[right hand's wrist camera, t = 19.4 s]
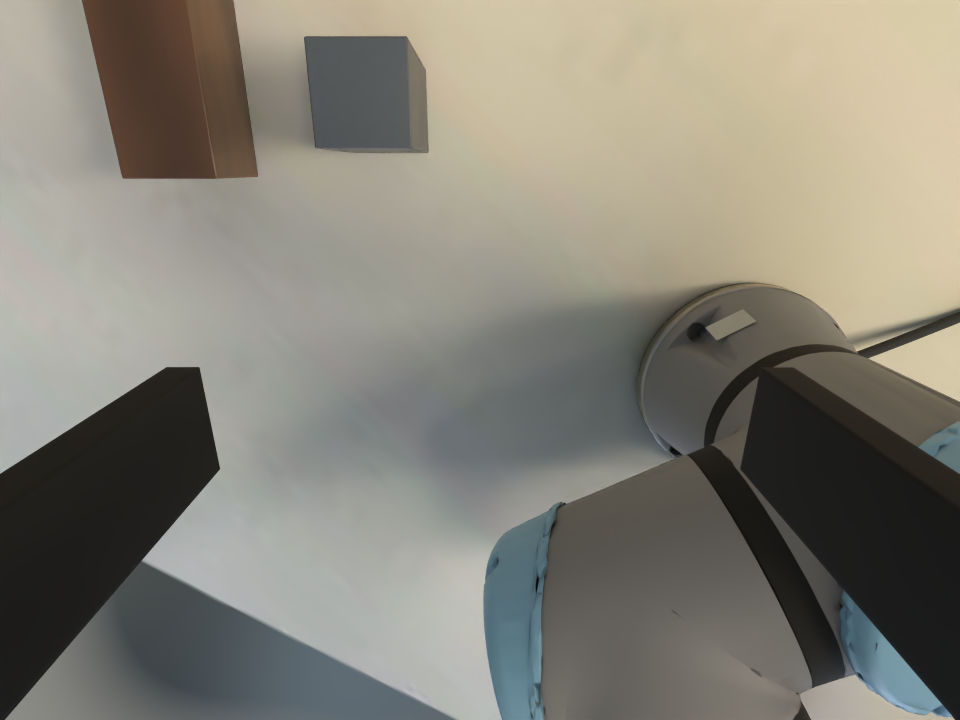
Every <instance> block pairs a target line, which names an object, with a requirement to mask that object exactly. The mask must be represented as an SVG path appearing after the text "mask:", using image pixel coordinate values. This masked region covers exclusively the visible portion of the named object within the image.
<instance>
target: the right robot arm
mask: <svg viewBox="0 0 960 720" xmlns="http://www.w3.org/2000/svg"><path fill="white" fill-rule="evenodd" d="M957 323H960V312H958V313H956V314H953V315H951V316H948V317H945V318H943V319H940V320H938V321H935V322H933V323H930V324H928V325H925V326H923V327H920V328H918V329H915V330H913V331H910V332H907V333H905V334H902V335H900V336H897V337H894V338H892V339H889V340H887V341H884V342H881V343H879V344H876V345H873V346H871V347H868V348H866V349H863V350H860V351H858V352H857V351H856V350H855V349H854V348H853V346H852V345H851V344H850V343H849V341H848V340H847V339H846V337H845V335H844V333H843V332H842V330H841V329H840V327H839V326H838V324H837V323H836V322H835V320H834V319H833V318H832V317H831V316H830V315H829V314H828V313H827V312H826V311H824V310H823V309H822V308H821V307H819V306H818V305H817V304H815V303H814V302H812V301H811V300H809V299H807V298H805V297H803V296H801V295H799V294H797V293H794V292H792V291H789V290H786V289H784V288H781V287H777V286H773V285H767V284H753V283H752V284H739V285H732V286H728V287H724V288H720V289H717V290H714V291H711V292H709V293H707V294H704V295H702V296H700V297H698V298H696V299H695V300H693V301H691V302H690V303H688V304H687V305H685V306H684V307H682V308H681V309H680V310H678V311H677V312H676V313H675V314H674V315H673V316H672V317H670V318H669V319H668V320H667V321H666V323H665V324H664V325H663V326H662V327H661V328H660V329H659V331H658V332H657V333H656V335H655V336H654V338H653V339H652V341H651V343H650V344H649V346H648V348H647V350H646V352H645V355H644V357H643V360H642V363H641V366H640V370H639V376H638V385H637V393H638V402H639V407H640V411H641V414H642V416H643V419H644V421H645V423H646V425H647V427H648V428H649V430H650V431H651V433H652V434H653V436H654V437H655V439H656V440H657V442H658V443H659V444H660V445H661V446H662V447H663V448H664V449H665V450H666V451H667V452H668V453H669V454H670V455H671V456H673V457H674V458H675V459H673V460H671V461H669V462H666V463H664V464H661V465H659V466H657V467H654V468H652V469H650V470H647V471H645V472H642V473H640V474H638V475H635V476H633V477H631V478H628V479H626V480H624V481H621V482H619V483H616V484H614V485H612V486H609V487H607V488H605V489H602V490H600V491H597V492H595V493H593V494H590V495H588V496H586V497H583V498H581V499H578V500H576V501H573V502H571V503H568V504H566V503H563V502H559V503H557V504H555V505H553V506H552V507H551V508H550V510H549V511H548V512H546V513H543V514H541V515H539V516H537V517H535V518H533V519H531V520H529V521H527V522H525V523H523V524H521V525H518V526H516V527H514V528H512V529H511V530H509V531H508V532H506V533H505V534H504V535H503V536H502V537H501V538H500V539H499V540H498V541H497V543H496V545H495V547H494V548H493V550H492V552H491V555H490V558H489V561H488V564H487V570H486V579H485V584H484V600H483V604H484V628H485V639H486V648H487V655H488V661H489V667H490V673H491V678H492V682H493V687H494V692H495V696H496V700H497V704H498V707H499V711H500V714H501V717H502V720H811V719H810V717H809V715H808V713H807V711H806V709H805V707H804V705H803V704H802V702H801V699H800V695H799V694H800V693H802V692H805V691H807V690H809V689H811V688H814V687H816V686H819V685H822V684H825V683H828V682H831V681H834V680H838V679H841V678H845V677H848V676H851V675H855V674H856V675H857V677H858V678H859V680H860V681H862V682H863V683H865V684H866V686H867V687H868V688H869V689H870V690H872V691H874V692H876V694H879V695H880V696H882V697H883V698H884V699H885V700H886V701H888V702H890V703H891V704H893V705H895V706H896V707H898V708H901V709H903V710H905V711H907V712H910V713H914V714H919V715H927V714H928V713H930V712H933V713H934V714H936V715H937V716H943V717H953V718H954V719H955V720H960V402H959V401H957V400H955V399H952V398H950V397H948V396H946V395H944V394H942V393H940V392H938V391H936V390H933V389H931V388H929V387H927V386H925V385H923V384H921V383H919V382H917V381H914V380H912V379H910V378H908V377H906V376H904V375H902V374H900V373H898V372H895V371H893V370H891V369H889V368H887V367H885V366H883V365H881V364H879V363H876V362H874V361H872V360H870V359H868V358H870V357H873V356H875V355H878V354H881V353H883V352H886V351H888V350H891V349H894V348H896V347H899V346H901V345H904V344H907V343H909V342H912V341H914V340H917V339H919V338H922V337H924V336H927V335H929V334H932V333H934V332H937V331H940V330H942V329H945V328H947V327H950V326H952V325H955V324H957ZM219 470H220V466H219V461H218V457H217V452H216V447H215V442H214V437H213V432H212V427H211V422H210V417H209V412H208V407H207V402H206V397H205V393H204V388H203V383H202V378H201V373H200V368H199V367H166V368H165V369H163V370H162V371H160V372H158V373H157V374H155V375H154V376H152V377H151V378H149V379H148V380H146V381H144V382H143V383H141V384H140V385H138V386H137V387H135V388H134V389H132V390H130V391H129V392H127V393H126V394H124V395H123V396H121V397H120V398H118V399H116V400H115V401H113V402H112V403H110V404H109V405H107V406H105V407H104V408H102V409H101V410H99V411H98V412H96V413H95V414H93V415H91V416H90V417H88V418H87V419H85V420H84V421H82V422H81V423H79V424H77V425H76V426H74V427H73V428H71V429H70V430H68V431H66V432H65V433H63V434H62V435H60V436H59V437H57V438H56V439H54V440H52V441H51V442H49V443H48V444H46V445H45V446H43V447H42V448H40V449H38V450H37V451H35V452H34V453H32V454H31V455H29V456H27V457H26V458H24V459H23V460H21V461H20V462H18V463H17V464H15V465H13V466H12V467H10V468H9V469H7V470H6V471H4V472H3V473H1V474H0V720H5V719H6V718H7V717H8V715H9V714H10V713H11V712H12V711H13V710H14V708H15V707H16V706H17V705H18V704H19V703H20V701H21V700H22V699H23V698H24V697H25V696H26V694H27V693H28V692H29V691H30V690H31V689H32V687H33V686H34V685H35V684H36V683H37V682H38V680H39V679H40V678H41V677H42V676H43V675H44V673H45V672H46V671H47V670H48V669H49V668H50V666H51V665H52V664H53V663H54V662H55V661H56V659H57V658H58V657H59V656H60V655H61V654H62V652H63V651H64V650H65V649H66V648H67V647H68V645H69V644H70V643H71V642H72V641H73V640H74V639H75V637H76V636H77V635H78V634H79V633H80V632H81V630H82V629H83V628H84V627H85V626H86V625H87V623H88V622H89V621H90V620H91V619H92V618H93V616H94V615H95V614H96V613H97V612H98V611H99V609H100V608H101V607H102V606H103V605H104V604H105V602H106V601H107V600H108V599H109V598H110V597H111V595H112V594H113V593H114V592H115V591H116V590H117V588H118V587H119V586H120V585H121V584H122V583H123V581H124V580H125V579H126V578H127V577H128V576H129V574H130V573H131V572H132V571H133V570H134V569H135V568H136V566H137V565H138V564H139V563H140V562H141V561H142V559H143V558H144V557H145V556H146V555H147V554H148V552H149V551H150V550H151V549H152V548H153V547H154V545H155V544H156V543H157V542H158V541H159V540H160V538H161V537H162V536H163V535H164V534H165V533H166V531H167V530H168V529H169V528H170V527H171V526H172V524H173V523H174V522H175V521H176V520H177V519H178V517H179V516H180V515H181V514H182V513H183V512H184V510H185V509H186V508H187V507H188V506H189V505H190V503H191V502H192V501H193V500H194V499H195V498H196V496H197V495H198V494H199V493H200V492H201V491H202V489H203V488H204V487H205V486H206V485H207V484H208V483H209V481H210V480H211V479H212V478H213V477H214V476H215V474H216V473H217V472H218V471H219Z"/></svg>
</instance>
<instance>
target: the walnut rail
mask: <svg viewBox="0 0 960 720" xmlns="http://www.w3.org/2000/svg"><path fill="white" fill-rule="evenodd" d="M82 2H83V6H84V11H85V15H86V20H87V24H88V28H89V33H90V37H91V42H92V46H93V50H94V55H95V59H96V64H97V68H98V72H99V77H100V81H101V86H102V90H103V94H104V99H105V103H106V108H107V112H108V116H109V121H110V125H111V130H112V134H113V138H114V143H115V147H116V152H117V156H118V160H119V165H120V169H121V174H122V177H123V178H124V179H218V178H239V177H257V176H258V173H257V166H256V159H255V152H254V145H253V138H252V131H251V124H250V116H249V109H248V102H247V95H246V88H245V81H244V74H243V67H242V60H241V53H240V46H239V38H238V31H237V24H236V17H235V10H234V3H233V0H82Z"/></svg>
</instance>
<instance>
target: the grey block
mask: <svg viewBox="0 0 960 720" xmlns="http://www.w3.org/2000/svg"><path fill="white" fill-rule="evenodd" d="M304 41H305V51H306V61H307V71H308V80H309V90H310V100H311V110H312V119H313V129H314V139H315V147H316V148H318V149H327V150H336V151H345V152H354V153H428V125H427V95H426V70H425V68H424V66H423V64H422V62H421V61H420V59H419V57H418V55H417V54H416V52H415V50H414V48H413V47H412V45H411V43H410V41H409V39H408V38H407V37H406V36H306V37H304Z"/></svg>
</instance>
